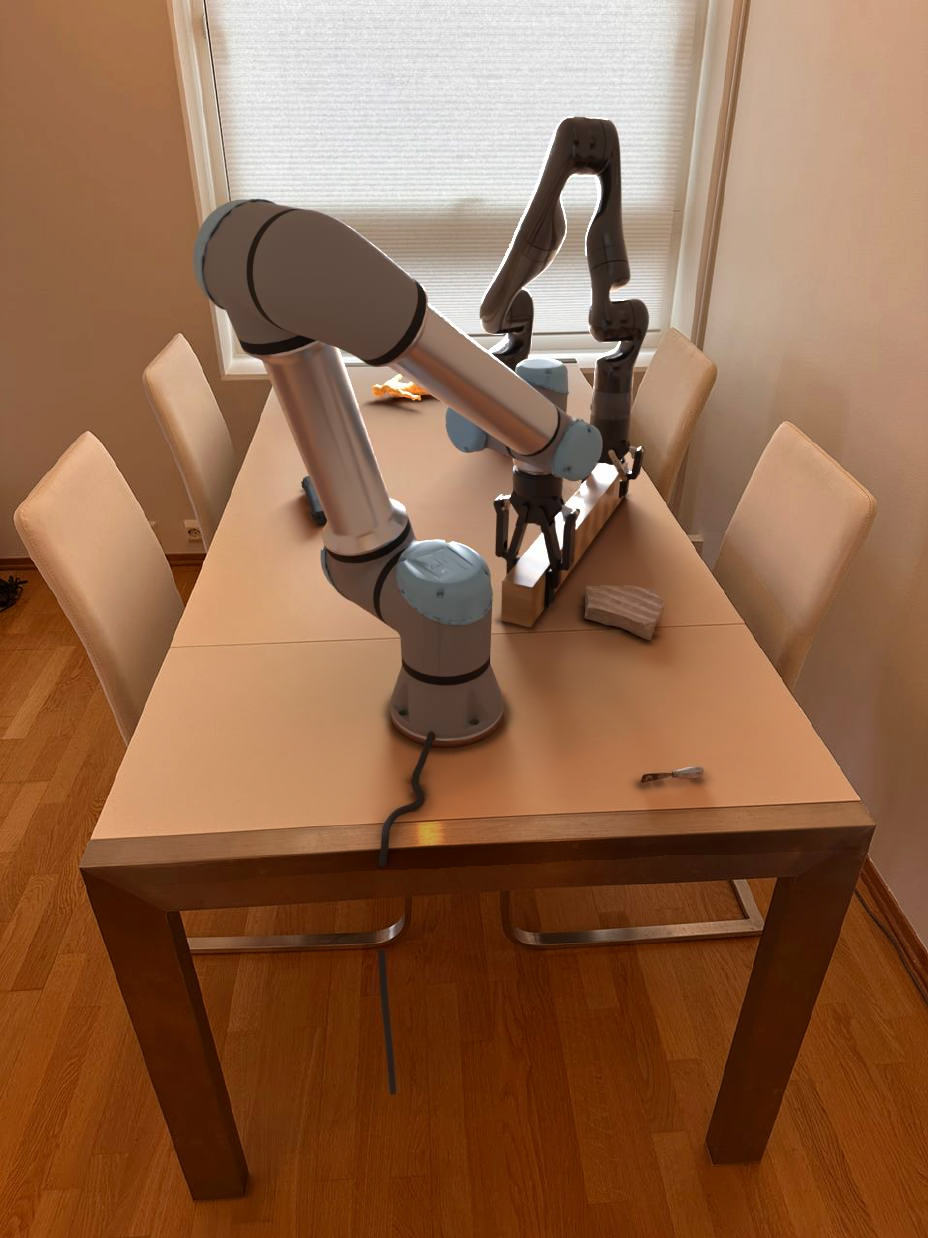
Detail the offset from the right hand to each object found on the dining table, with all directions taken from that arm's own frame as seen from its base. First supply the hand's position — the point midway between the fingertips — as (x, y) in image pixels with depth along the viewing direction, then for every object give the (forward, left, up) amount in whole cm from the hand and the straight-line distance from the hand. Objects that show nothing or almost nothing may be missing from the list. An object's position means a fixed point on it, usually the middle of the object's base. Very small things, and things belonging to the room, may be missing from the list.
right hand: (604, 493), depth 175 cm
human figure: (-81, -7, -3) cm, 81 cm away
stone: (+37, -19, -3) cm, 42 cm away
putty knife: (+71, -34, -3) cm, 79 cm away
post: (+13, -15, -3) cm, 20 cm away
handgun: (-24, -48, -3) cm, 53 cm away
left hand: (+26, -30, -2) cm, 40 cm away
